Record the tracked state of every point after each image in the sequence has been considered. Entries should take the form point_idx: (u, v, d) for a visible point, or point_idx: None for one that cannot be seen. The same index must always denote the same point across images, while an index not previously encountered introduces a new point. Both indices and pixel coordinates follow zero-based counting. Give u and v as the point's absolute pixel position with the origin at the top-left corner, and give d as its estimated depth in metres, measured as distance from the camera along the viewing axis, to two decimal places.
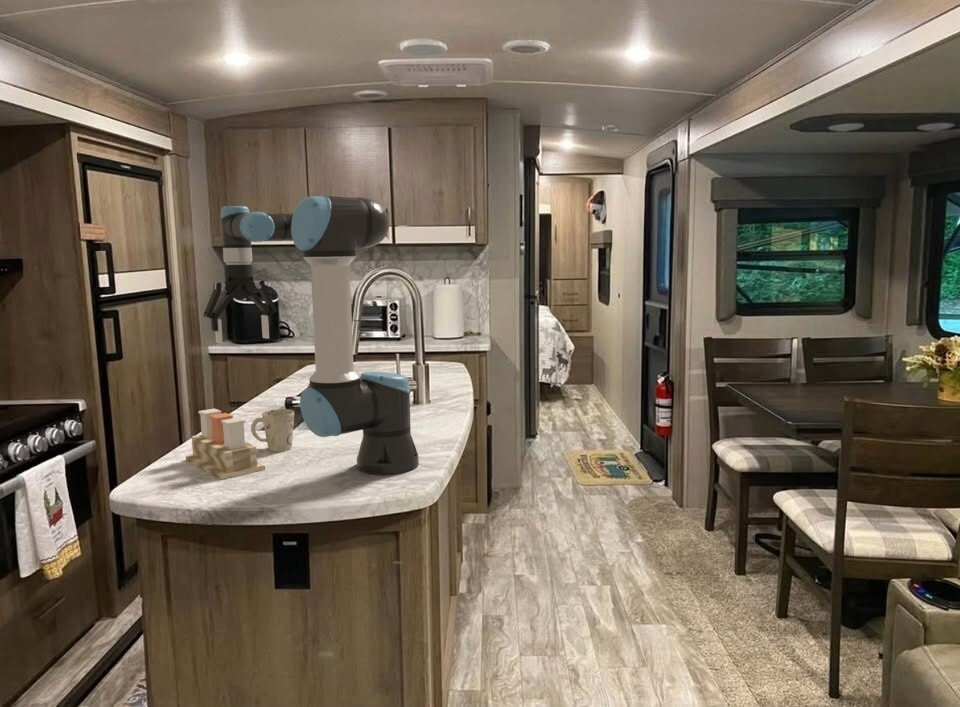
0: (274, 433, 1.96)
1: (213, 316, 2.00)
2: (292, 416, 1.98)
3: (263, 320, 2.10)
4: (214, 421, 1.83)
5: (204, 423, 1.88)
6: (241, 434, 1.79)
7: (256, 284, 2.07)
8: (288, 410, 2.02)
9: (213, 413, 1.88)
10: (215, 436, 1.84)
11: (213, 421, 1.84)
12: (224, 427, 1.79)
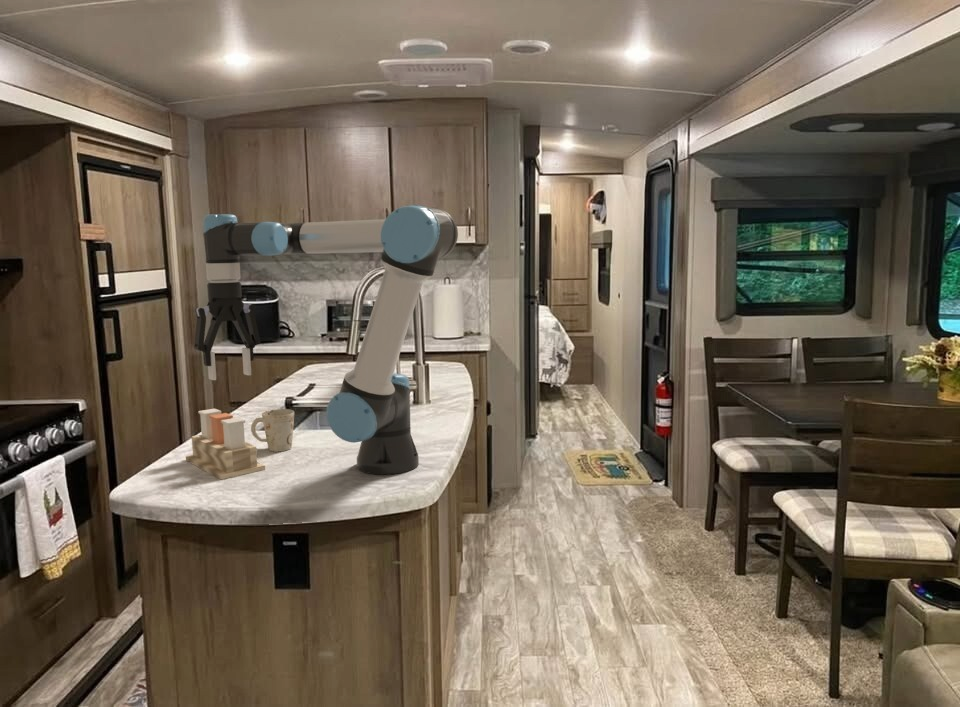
0: (274, 433, 1.96)
1: (205, 350, 1.72)
2: (292, 416, 1.98)
3: (244, 354, 1.79)
4: (214, 421, 1.83)
5: (204, 423, 1.88)
6: (241, 434, 1.79)
7: (245, 307, 1.78)
8: (288, 410, 2.02)
9: (213, 413, 1.88)
10: (215, 436, 1.84)
11: (213, 421, 1.84)
12: (224, 427, 1.79)
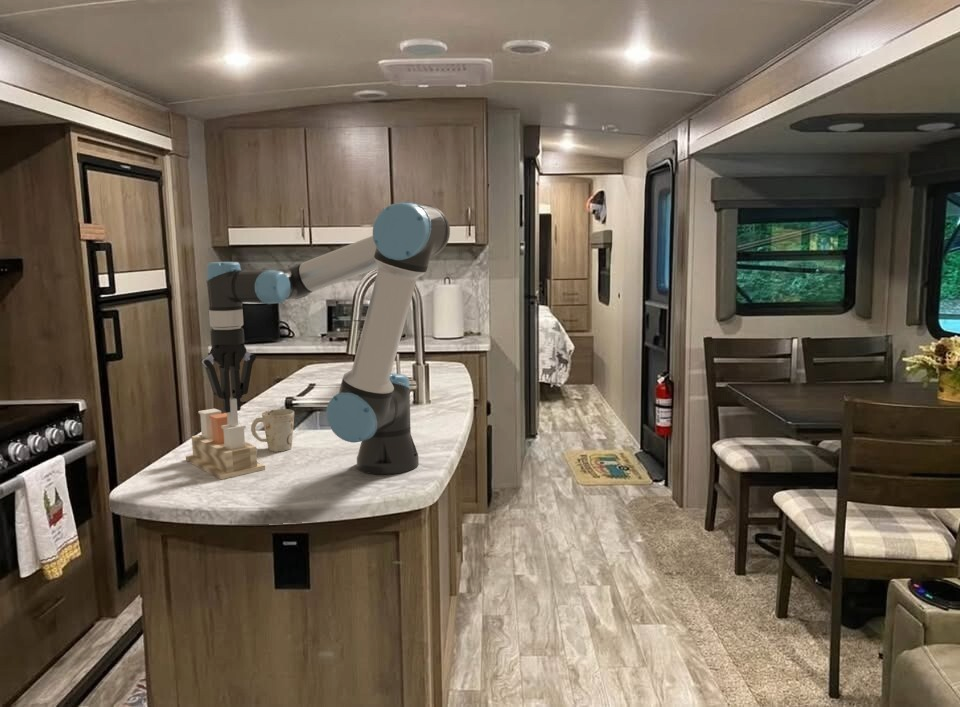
0: (274, 433, 1.96)
1: (225, 398, 1.76)
2: (292, 416, 1.98)
3: None
4: (214, 421, 1.83)
5: (204, 423, 1.88)
6: (241, 439, 1.79)
7: (246, 354, 1.79)
8: (288, 410, 2.02)
9: (213, 413, 1.88)
10: (215, 436, 1.84)
11: (213, 421, 1.84)
12: (224, 432, 1.79)
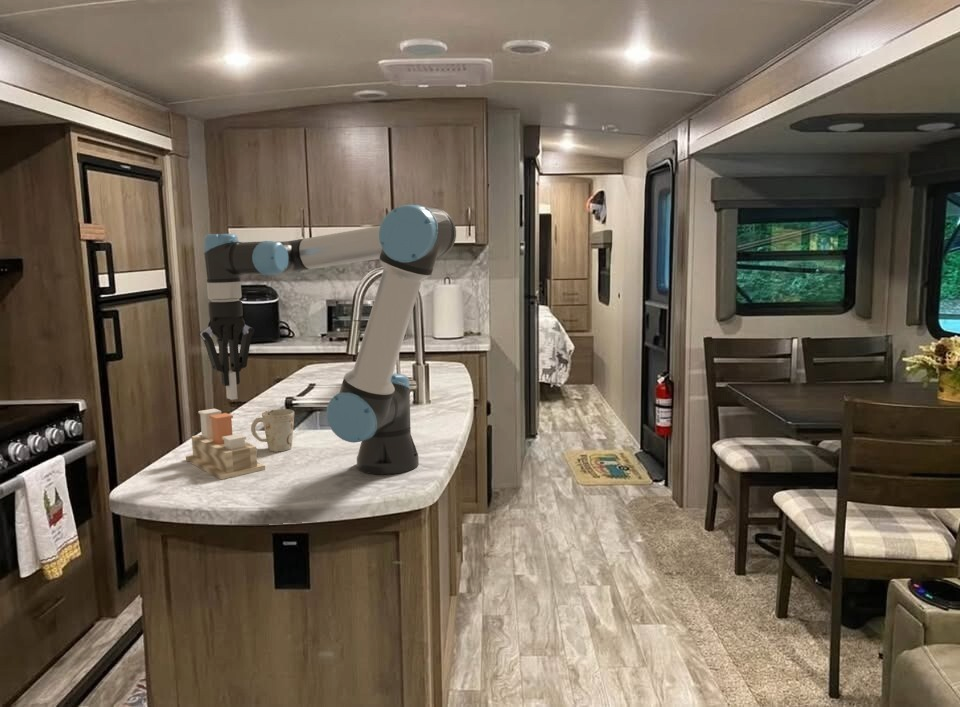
0: (274, 433, 1.96)
1: (224, 371, 1.75)
2: (292, 416, 1.98)
3: None
4: (214, 421, 1.83)
5: (204, 423, 1.88)
6: None
7: (245, 328, 1.78)
8: (288, 410, 2.02)
9: (213, 413, 1.88)
10: (215, 436, 1.84)
11: (213, 421, 1.84)
12: (225, 443, 1.80)
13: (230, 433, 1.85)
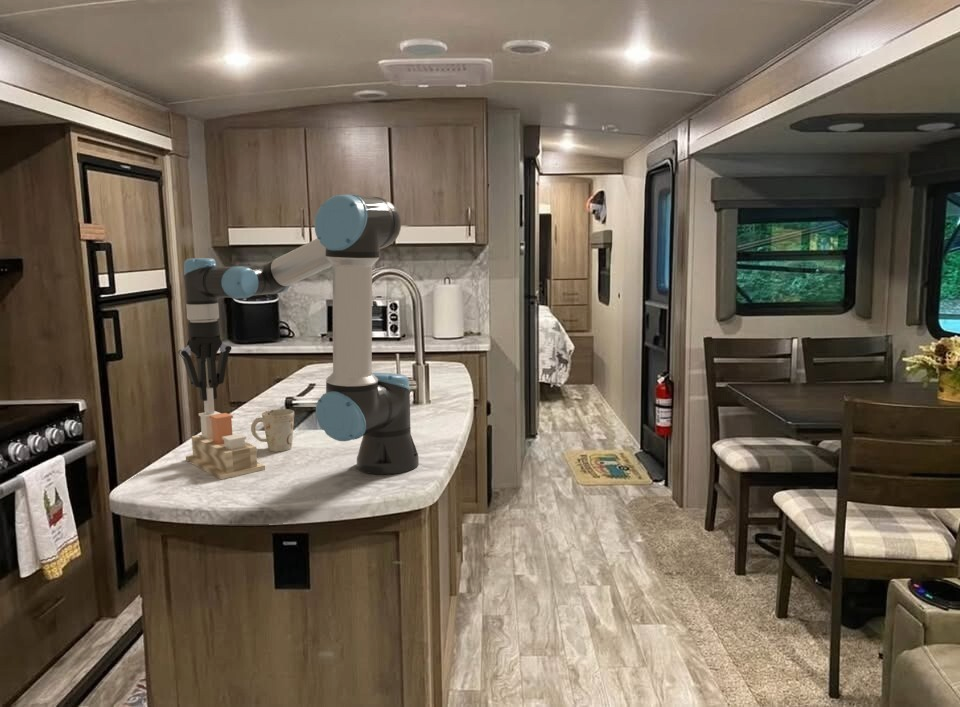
0: (274, 433, 1.96)
1: (201, 387, 1.87)
2: (292, 416, 1.98)
3: None
4: (214, 421, 1.83)
5: (205, 425, 1.88)
6: None
7: (222, 346, 1.90)
8: (288, 410, 2.02)
9: None
10: (215, 436, 1.84)
11: (213, 421, 1.84)
12: (225, 443, 1.80)
13: (230, 433, 1.85)
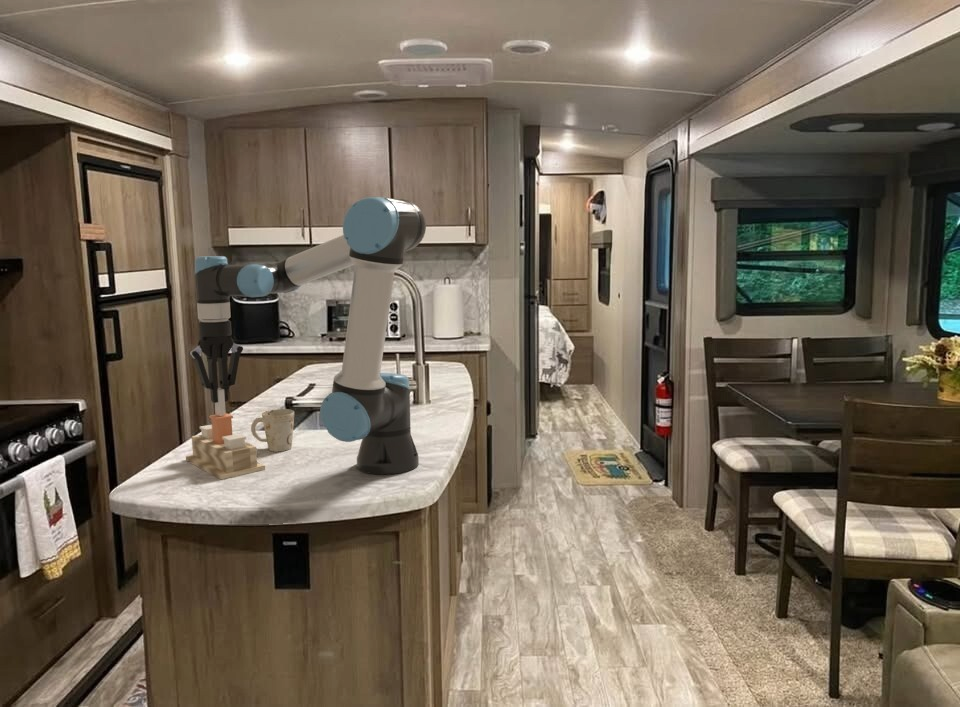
0: (274, 433, 1.96)
1: (212, 388, 1.81)
2: (292, 416, 1.98)
3: None
4: (214, 421, 1.83)
5: (206, 438, 1.89)
6: None
7: (233, 346, 1.84)
8: (288, 410, 2.02)
9: None
10: (215, 436, 1.84)
11: (213, 421, 1.84)
12: (225, 443, 1.80)
13: (230, 433, 1.85)
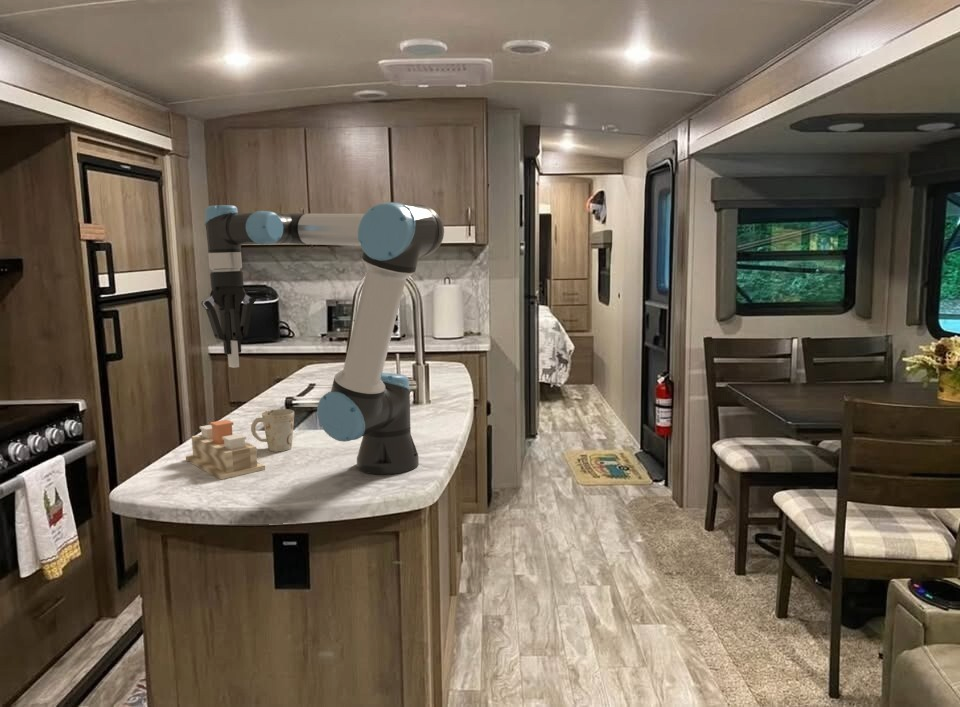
0: (274, 433, 1.96)
1: (226, 339, 1.80)
2: (292, 416, 1.98)
3: None
4: (214, 428, 1.83)
5: (206, 438, 1.89)
6: None
7: (245, 298, 1.83)
8: (288, 410, 2.02)
9: None
10: (215, 443, 1.84)
11: (213, 428, 1.84)
12: (225, 443, 1.80)
13: None
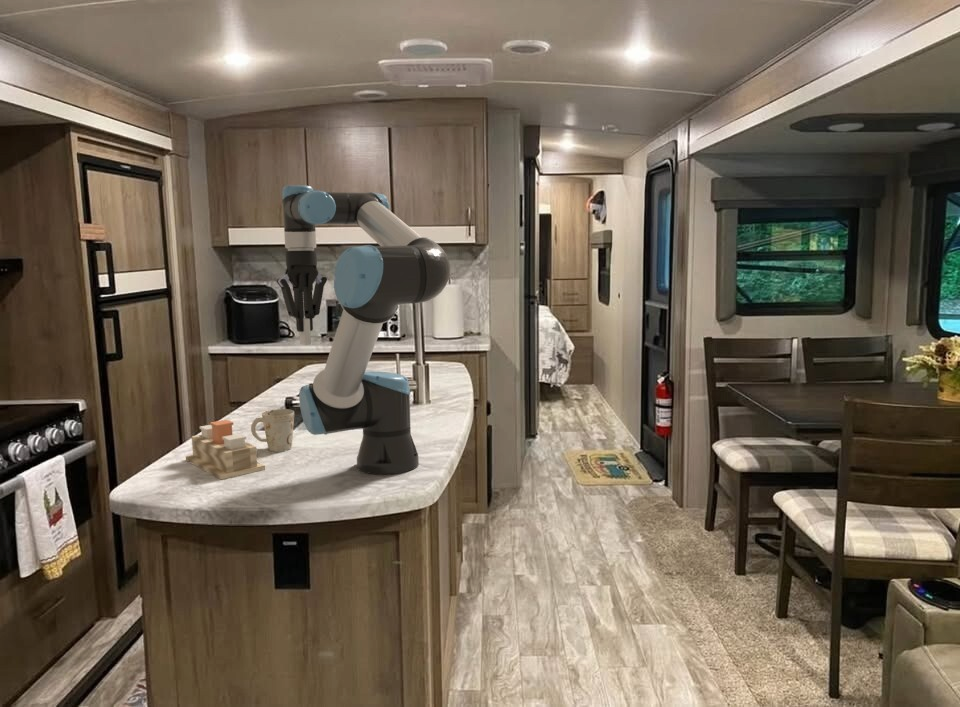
0: (274, 433, 1.96)
1: (299, 317, 1.84)
2: (292, 416, 1.98)
3: None
4: (214, 428, 1.83)
5: (206, 438, 1.89)
6: None
7: (318, 277, 1.87)
8: (288, 410, 2.02)
9: None
10: (215, 443, 1.84)
11: (213, 428, 1.84)
12: (225, 443, 1.80)
13: None
